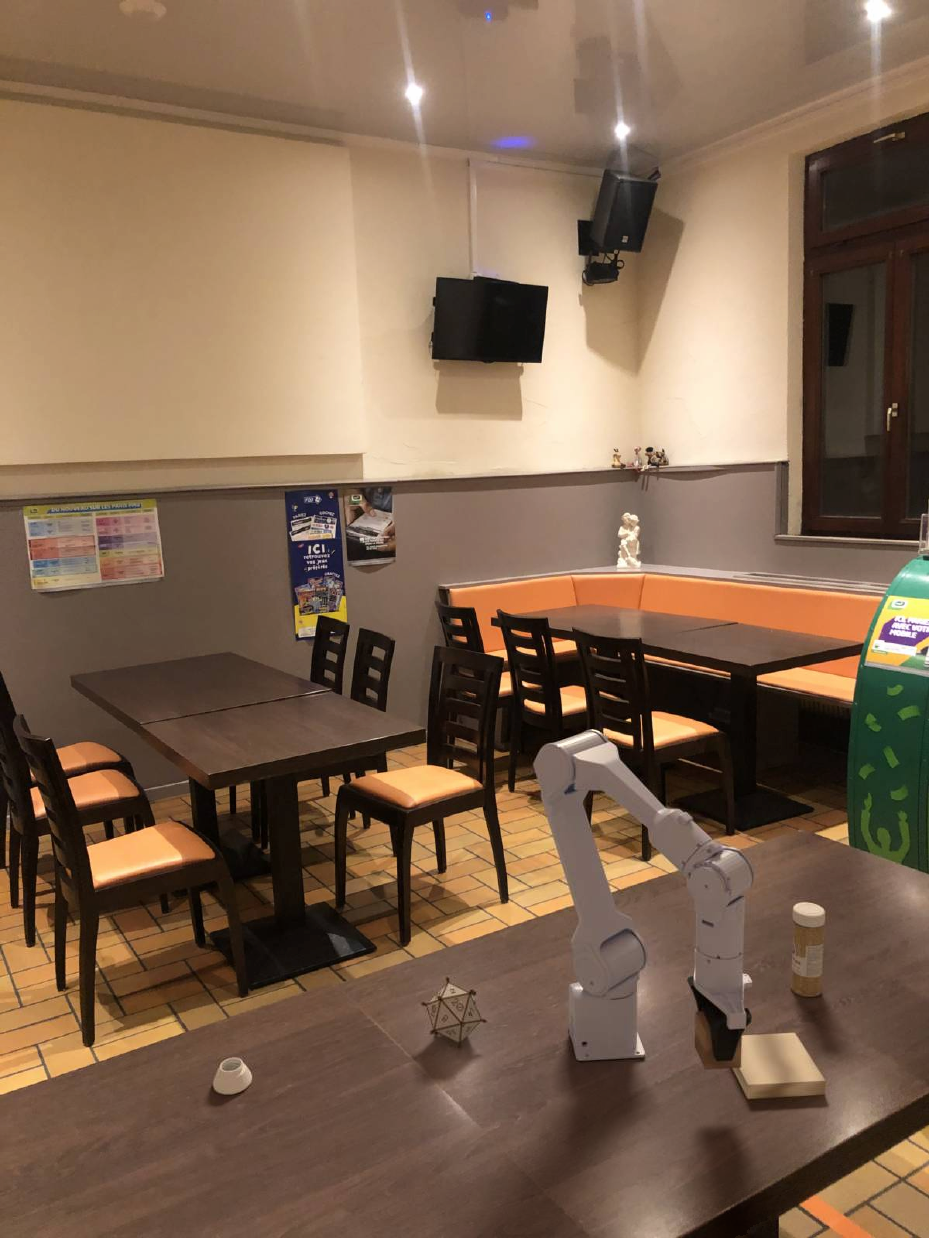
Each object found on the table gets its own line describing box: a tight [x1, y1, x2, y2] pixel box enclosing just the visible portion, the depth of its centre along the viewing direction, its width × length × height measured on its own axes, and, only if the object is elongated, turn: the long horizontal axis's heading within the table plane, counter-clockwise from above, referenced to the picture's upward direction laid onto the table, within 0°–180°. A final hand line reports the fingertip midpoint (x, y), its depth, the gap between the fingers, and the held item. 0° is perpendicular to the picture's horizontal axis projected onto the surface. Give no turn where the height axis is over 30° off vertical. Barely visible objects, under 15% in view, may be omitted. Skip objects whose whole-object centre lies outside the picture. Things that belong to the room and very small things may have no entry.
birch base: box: [731, 1032, 826, 1100], centre depth 123 cm, size 10×10×2 cm
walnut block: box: [694, 1010, 743, 1071], centre depth 117 cm, size 4×4×5 cm
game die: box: [420, 975, 488, 1051], centre depth 132 cm, size 9×8×10 cm
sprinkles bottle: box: [790, 901, 826, 998], centre depth 140 cm, size 5×5×13 cm
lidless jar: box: [212, 1057, 253, 1095], centre depth 124 cm, size 5×3×5 cm
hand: (717, 1046), depth 117 cm, fingers closed on walnut block, 4 cm apart
